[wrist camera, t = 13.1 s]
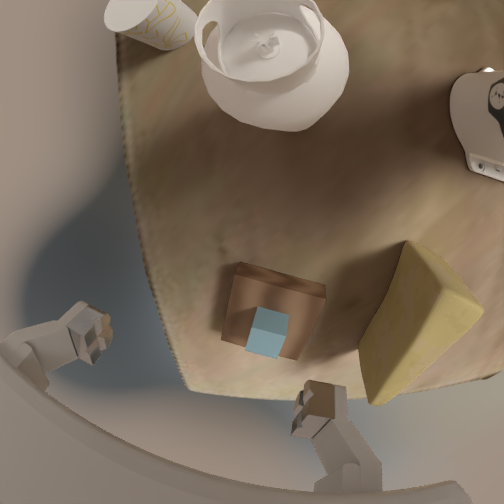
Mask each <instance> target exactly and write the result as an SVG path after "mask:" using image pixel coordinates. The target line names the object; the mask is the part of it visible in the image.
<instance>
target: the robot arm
mask: <svg viewBox="0 0 504 504" xmlns="http://www.w3.org/2000/svg"><path fill="white" fill-rule="evenodd" d="M450 114H451V120H452V124H453V127H454V130H455V132H456V135H457V137H458V139H459V140H460V142H461V144H462V146H463V148H464V150H465V155H466V160H467V164H468V167H469V169H470V170H471V171H473V172H476V173H479V174H482V175H485V176H488V177H491V178H494V179H497V180H500V181H502V182H504V71H494V70H493V69H492V68H490V67H485V68H483V69H482V70H481V71H479V72H478V73H467V74H464V75H462V76H461V77H459V78H458V79H457V80H456V82H455V83H454V85H453V87H452V90H451V95H450ZM479 164H480V168H479ZM109 322H111V320H110V315H108V314H106V313H105V312H103V311H101V310H99V309H96V308H95V307H93V306H91V305H89V304H87V303H85V302H83V301H79V302H77V303H76V304H75V305H74V306H73V307H72V308H71V309H70V310H68V312H66V313H65V314H64V315H63V316H62V317H61V318H60V319H59V320H58V321H56V320H53V321H49V322H46V323H42V324H39V325H35V326H31V327H27V328H24V329H20V330H16V331H13V332H12V333H11V334H10V335H9V336H8V337H7V338H6V339H5V340H4V341H3V342H2V343H1V344H0V504H472V500H471V498H470V497H469V495H468V494H467V493H466V492H465V490H464V489H463V488H462V487H461V486H460V485H459V484H458V483H457V482H456V481H452V480H450V481H444V482H440V483H435V484H431V485H426V486H420V487H414V488H408V489H400V490H391V491H382V468H381V462H380V460H379V459H378V458H377V456H376V455H375V454H374V452H373V451H372V449H371V448H370V446H369V445H368V444H367V442H366V441H365V440H364V438H363V437H362V435H361V434H360V433H359V431H358V430H357V428H356V427H355V426H354V424H353V423H352V421H348V407H347V391H346V387H345V386H340V385H334V384H330V383H324V382H318V381H313V380H307V381H306V383H305V384H304V390H302V391H300V392H299V394H298V396H297V398H296V401H295V405H294V414H295V416H296V417H295V419H294V420H293V421H292V429H291V436H295V437H301V438H306V439H311V442H312V444H313V446H314V448H315V450H316V452H317V454H318V456H319V458H320V460H321V462H322V464H323V466H324V468H325V470H326V472H327V474H328V475H327V476H325V477H324V478H322V479H320V480H319V481H317V482H315V485H314V492H307V491H296V490H287V489H280V488H272V487H266V486H260V485H255V484H250V483H245V482H240V481H236V480H232V479H227V478H223V477H219V476H216V475H212V474H208V473H205V472H202V471H199V470H196V469H193V468H190V467H187V466H184V465H181V464H178V463H175V462H173V461H170V460H167V459H165V458H162V457H160V456H157V455H154V454H152V453H150V452H148V451H145V450H143V449H141V448H139V447H137V446H134V445H132V444H130V443H128V442H126V441H124V440H122V439H120V438H118V437H116V436H114V435H112V434H111V433H109V432H107V431H105V430H103V429H101V428H100V427H98V426H96V425H94V424H93V423H91V422H89V421H88V420H86V419H85V418H83V417H81V416H80V415H78V414H77V413H75V412H73V411H72V410H70V409H69V408H68V407H66V406H65V405H63V404H62V403H60V402H59V401H57V400H56V399H54V398H53V397H52V396H51V395H49V394H48V393H47V392H45V390H46V389H47V387H48V386H49V381H48V379H47V377H46V375H45V373H47V372H50V371H52V370H54V369H56V368H58V367H60V366H63V365H65V364H67V363H69V362H71V361H74V360H76V359H77V358H80V359H81V360H84V361H85V362H87V363H89V364H91V365H94V364H95V362H96V361H97V360H98V358H99V357H100V356H101V350H104V349H106V348H107V347H108V346H109V344H110V342H111V340H112V336H113V331H112V328H111V327H110V325H109Z"/></svg>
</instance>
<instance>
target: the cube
mask: <svg viewBox="0 0 504 504" xmlns="http://www.w3.org/2000/svg"><path fill="white" fill-rule="evenodd" d="M288 319H289V315H288V314H284V313H280V312H276V311H273V310H269V309H266V308H262V307H257V311H256V314H255V317H254V321H253V324H252V328H251V331H250V334H249V338H248V341H247V345H246V348H245V350H246V351H249V352H253V353H256V354H260V355H264V356H268V357H272V358H275V359H277V357H278V355H279V353H280V350H281V348H282V346H283V343H284V341H285V338H286V335H287V327H288Z"/></svg>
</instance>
